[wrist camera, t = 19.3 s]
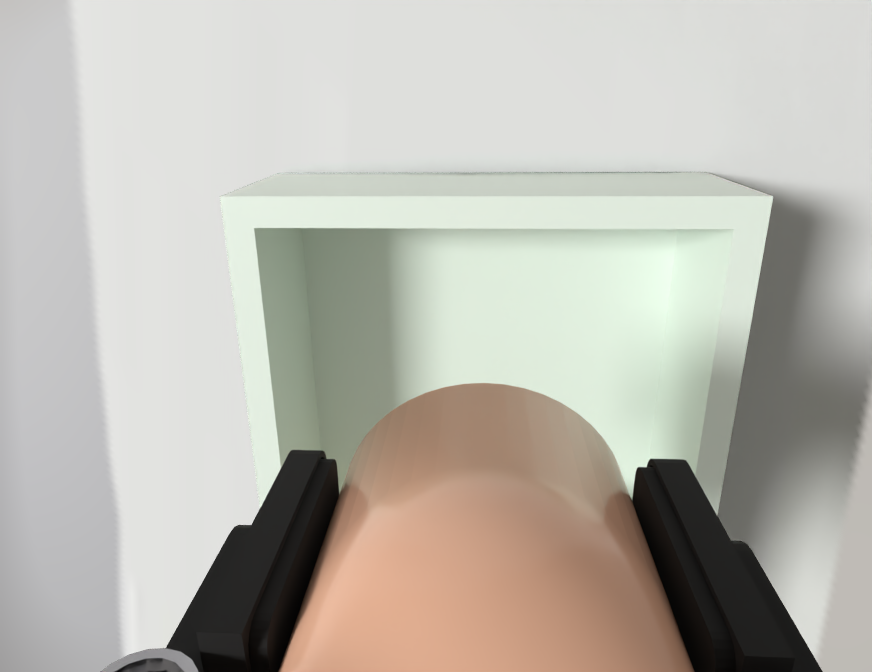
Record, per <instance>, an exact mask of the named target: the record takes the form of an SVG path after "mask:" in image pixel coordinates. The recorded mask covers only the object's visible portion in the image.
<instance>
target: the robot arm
mask: <svg viewBox="0 0 872 672" xmlns="http://www.w3.org/2000/svg"><path fill="white" fill-rule="evenodd" d="M338 497H339V484H338V471H337V463H336V460H335V459H326V454H325V452H324V451H323V450H291V451H290V452H289V454H288V456H287V458H286V460H285V461H284V463H283V465H282V467H281V469H280V471H279V473H278V475H277V477H276V479H275V481H274V483H273V485H272V487H271V488H270V490H269V492H268V494H267V496H266V498H265V500H264V502H263V504H262V506H261V508H260V510H259V512H258V514H257V515H256V517H255V519H254V521H253V523H252V525H238V526H236V527H234V528H233V530H232V531H231V532H230V534H229V536H228V537H227V539H226V541H225V543H224V545H223V546H222V548H221V550H220V552H219V554H218V555H217V557H216V559H215V561H214V563H213V564H212V566H211V568H210V570H209V572H208V573H207V575H206V577H205V579H204V581H203V582H202V584H201V586H200V588H199V589H198V591H197V593H196V595H195V597H194V598H193V600H192V602H191V604H190V606H189V607H188V609H187V611H186V613H185V615H184V616H183V618H182V620H181V622H180V624H179V625H178V627H177V629H176V631H175V633H174V634H173V636H172V638H171V640H170V642H169V643H168V645H167V647H166V648H160V649H147V650H143V651H140V652H136V653H133V654H129V655H127V656H125V657H123V658H121V659H119V660H117V661H115V662H113V663H111V664H110V665H109V666H107V667H106V668H105V669H103V670H102V671H101V672H279V669H280V666H281V663H282V660H283V657H284V654H285V651H286V648H287V645H288V643H289V640H290V637H291V634H292V631H293V628H294V625H295V622H296V619H297V616H298V613H299V611H300V608H301V605H302V602H303V599H304V596H305V593H306V590H307V587H308V584H309V581H310V578H311V576H312V573H313V570H314V567H315V564H316V561H317V558H318V555H319V552H320V549H321V546H322V544H323V541H324V538H325V535H326V532H327V529H328V526H329V523H330V520H331V517H332V514H333V512H334V509H335V506H336V503H337V500H338ZM632 502H633V505H634V508H635V510H636V513H637V516H638V519H639V521H640V524H641V527H642V530H643V532H644V535H645V538H646V540H647V543H648V546H649V549H650V551H651V554H652V557H653V560H654V562H655V565H656V568H657V570H658V573H659V576H660V579H661V581H662V584H663V587H664V590H665V592H666V595H667V598H668V601H669V603H670V606H671V609H672V611H673V614H674V617H675V620H676V622H677V625H678V628H679V631H680V633H681V636H682V639H683V641H684V644H685V647H686V650H687V652H688V655H689V658H690V661H691V663H692V666H693V669H694V671H695V672H822V670H821V668H820V667H819V665H818V663H817V661H816V660H815V658H814V656H813V655H812V653H811V651H810V649H809V648H808V646H807V644H806V643H805V641H804V639H803V637H802V636H801V634H800V632H799V631H798V629H797V627H796V625H795V624H794V622H793V620H792V619H791V617H790V615H789V613H788V612H787V610H786V608H785V607H784V605H783V603H782V601H781V600H780V598H779V596H778V595H777V593H776V591H775V589H774V588H773V586H772V584H771V583H770V581H769V579H768V577H767V576H766V574H765V572H764V571H763V569H762V567H761V566H760V564H759V562H758V560H757V559H756V557H755V555H754V554H753V552H752V550H751V549H750V548H749V546H748V545H747V544H746V543H744V542H742V541H731V540H730V538H729V536H728V535H727V533H726V531H725V529H724V527H723V525H722V524H721V522H720V520H719V518H718V516H717V515H716V513H715V511H714V509H713V507H712V506H711V504H710V502H709V500H708V498H707V496H706V495H705V493H704V491H703V489H702V487H701V486H700V484H699V482H698V480H697V478H696V476H695V475H694V473H693V471H692V469H691V467H690V466H689V464H688V462H687V461H686V460H684V459H650V460H649V461H648V464H647V467H638V468H637V470H636V474H635V481H634V489H633V497H632Z"/></svg>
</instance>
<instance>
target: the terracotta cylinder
mask: <svg viewBox="0 0 872 672" xmlns="http://www.w3.org/2000/svg"><path fill="white" fill-rule="evenodd" d="M279 672H695V671H694V669H693V666H692V663H691V661H690V658H689V655H688V652H687V650H686V647H685V644H684V641H683V639H682V636H681V633H680V631H679V628H678V625H677V622H676V620H675V617H674V614H673V611H672V609H671V606H670V603H669V601H668V598H667V595H666V592H665V590H664V587H663V584H662V581H661V579H660V576H659V573H658V570H657V568H656V565H655V562H654V560H653V557H652V554H651V551H650V549H649V546H648V543H647V540H646V538H645V535H644V532H643V530H642V527H641V524H640V521H639V519H638V516H637V513H636V510H635V508H634V505H633V502H632V499H631V497H630V494H629V491H628V489H627V486H626V483H625V480H624V478H623V475H622V472H621V469H620V467H619V465H618V463H617V460H616V458H615V456H614V454H613V452H612V450H611V449H610V447H609V446H608V445H607V443H606V442H605V440H604V439H603V437H602V436H601V435H600V434H599V433H598V432H597V431H596V430H595V428H594V427H593V426H592V425H591V424H590V423H589V422H587V421H586V420H585V419H584V418H583V417H581V416H580V415H579V414H578V413H577V412H575V411H573V410H572V409H570V408H569V407H567V406H565V405H564V404H562V403H561V402H559V401H556V400H554V399H552V398H550V397H548V396H546V395H544V394H541V393H538V392H534V391H531V390H528V389H525V388H521V387H516V386H510V385H505V384H493V383H471V384H460V385H454V386H448V387H443V388H440V389H437V390H433V391H430V392H426V393H424V394H422V395H420V396H417V397H415V398H413V399H410V400H408V401H407V402H405V403H403V404H402V405H400V406H398V407H397V408H395V409H393V410H392V411H391V412H390V413H388V414H387V415H386V416H384V417H383V418H382V419H381V420H379V421H378V423H377V424H376V425H375V426H374V427H373V428H372V429H371V430H370V431H369V432H368V433H367V435H366V436H365V437H364V439H363V440H362V442H361V443H360V445H359V446H358V448H357V450H356V452H355V454H354V456H353V458H352V460H351V462H350V465H349V468H348V471H347V474H346V477H345V479H344V482H343V485H342V488H341V491H340V494H339V497H338V500H337V503H336V506H335V509H334V512H333V514H332V517H331V520H330V523H329V526H328V529H327V532H326V535H325V538H324V541H323V544H322V546H321V549H320V552H319V555H318V558H317V561H316V564H315V567H314V570H313V573H312V576H311V578H310V581H309V584H308V587H307V590H306V593H305V596H304V599H303V602H302V605H301V608H300V611H299V613H298V616H297V619H296V622H295V625H294V628H293V631H292V634H291V637H290V640H289V643H288V645H287V648H286V651H285V654H284V657H283V660H282V663H281V666H280V669H279Z"/></svg>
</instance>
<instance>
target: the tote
mask: <svg viewBox="0 0 872 672" xmlns="http://www.w3.org/2000/svg"><path fill="white" fill-rule="evenodd" d="M772 201H773V196H771V195H768V194H766V193H763V192H760V191H757V190H754V189H752V188H749V187H746V186H743V185H740V184H738V183H735V182H732V181H729V180H726V179H724V178H721V177H718V176H715V175H712V174H710V173H707V172H508V173H277V174H275V175H272V176H270V177H267V178H265V179H262V180H260V181H257V182H255V183H252V184H250V185H247V186H245V187H242V188H240V189H237V190H235V191H232V192H230V193H227V194H225V195H222V196H220V203H221V211H222V218H223V226H224V234H225V242H226V249H227V257H228V265H229V273H230V280H231V288H232V296H233V304H234V311H235V319H236V327H237V335H238V342H239V350H240V358H241V366H242V373H243V381H244V389H245V397H246V404H247V412H248V420H249V428H250V435H251V443H252V451H253V459H254V466H255V474H256V482H257V490H258V497H259V505H260V508H261V506H262V504H263V502H264V500H265V498H266V496H267V494H268V492H269V490H270V488H271V487H272V485H273V483H274V481H275V479H276V477H277V475H278V473H279V471H280V469H281V467H282V465H283V463H284V461H285V460H286V458H287V456H288V454H289V452H290V451H291V450H323V451H324V452H325V454H326V459H335V460H336V463H337V471H338V484H339V494H340V491H341V488H342V485H343V482H344V479H345V477H346V474H347V471H348V468H349V465H350V462H351V460H352V458H353V456H354V454H355V452H356V450H357V448H358V446H359V445H360V443H361V442H362V440H363V439H364V437H365V436H366V435H367V433H368V432H369V431H370V430H371V429H372V428H373V427H374V426H375V425H376V424H377V423H378V421H379V420H381V419H382V418H383V417H384V416H386V415H387V414H388V413H390V412H391V411H392V410H393V409H395V408H397V407H398V406H400V405H402V404H403V403H405V402H407V401H408V400H410V399H413V398H415V397H417V396H420V395H422V394H424V393H426V392H430V391H433V390H437V389H440V388H443V387H448V386H454V385H460V384H471V383H493V384H505V385H510V386H516V387H521V388H525V389H528V390H531V391H534V392H538V393H541V394H544V395H546V396H548V397H550V398H552V399H554V400H556V401H559V402H561V403H562V404H564V405H565V406H567V407H569V408H570V409H572V410H573V411H575V412H577V413H578V414H579V415H580V416H581V417H583V418H584V419H585V420H586V421H587V422H589V423H590V424H591V425H592V426H593V427H594V428H595V430H596V431H597V432H598V433H599V434H600V435H601V436H602V437H603V439H604V440H605V442H606V443H607V445H608V446H609V447H610V449H611V450H612V452H613V454H614V456H615V458H616V460H617V463H618V465H619V467H620V469H621V472H622V475H623V478H624V480H625V483H626V486H627V489H628V491H629V494H630V497H631V499H632V497H633V489H634V481H635V474H636V470H637V468H638V467H647V464H648V461H649V460H650V459H684V460H686V461H687V462H688V464H689V466H690V467H691V469H692V471H693V473H694V475H695V476H696V478H697V480H698V482H699V484H700V486H701V487H702V489H703V491H704V493H705V495H706V496H707V498H708V500H709V502H710V504H711V506H712V507H713V509H714V511H715V513H716V515H718V510H719V504H720V498H721V493H722V487H723V481H724V475H725V470H726V464H727V458H728V453H729V447H730V441H731V435H732V430H733V424H734V418H735V413H736V407H737V401H738V395H739V390H740V384H741V378H742V373H743V367H744V361H745V356H746V350H747V344H748V338H749V333H750V327H751V321H752V316H753V310H754V304H755V298H756V293H757V287H758V281H759V276H760V270H761V264H762V258H763V253H764V247H765V241H766V236H767V230H768V224H769V219H770V213H771V207H772Z"/></svg>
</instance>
